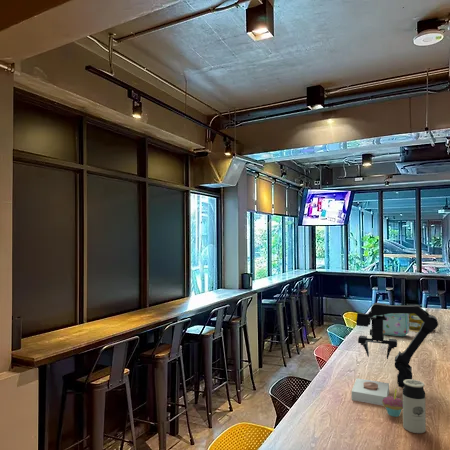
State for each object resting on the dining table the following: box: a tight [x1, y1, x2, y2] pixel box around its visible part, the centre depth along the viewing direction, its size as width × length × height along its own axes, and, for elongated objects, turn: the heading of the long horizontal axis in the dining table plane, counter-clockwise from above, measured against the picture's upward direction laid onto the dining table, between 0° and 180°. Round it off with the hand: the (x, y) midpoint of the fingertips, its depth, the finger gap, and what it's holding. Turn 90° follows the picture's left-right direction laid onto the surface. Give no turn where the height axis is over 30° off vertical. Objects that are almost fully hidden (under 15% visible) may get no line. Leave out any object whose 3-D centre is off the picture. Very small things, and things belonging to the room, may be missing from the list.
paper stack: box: [409, 307, 430, 333], centre depth 316 cm, size 25×25×17 cm
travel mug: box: [402, 378, 427, 434], centre depth 153 cm, size 8×8×18 cm
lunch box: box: [370, 313, 410, 337], centre depth 298 cm, size 27×10×21 cm, turn 55°
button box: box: [350, 377, 390, 407], centre depth 185 cm, size 15×18×4 cm
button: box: [364, 382, 378, 390], centre depth 185 cm, size 6×6×4 cm
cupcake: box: [382, 388, 403, 418], centre depth 166 cm, size 9×8×12 cm
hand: (377, 357), depth 203 cm, fingers open, 9 cm apart
